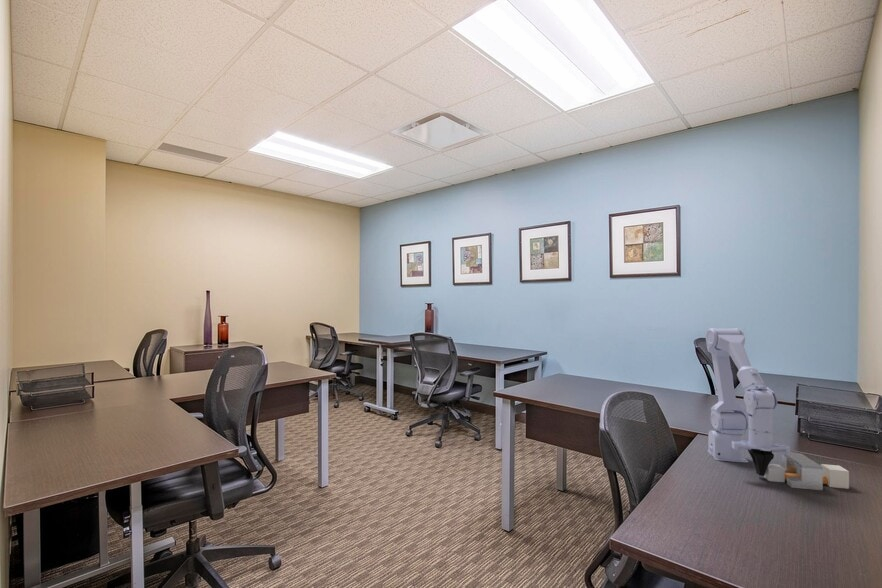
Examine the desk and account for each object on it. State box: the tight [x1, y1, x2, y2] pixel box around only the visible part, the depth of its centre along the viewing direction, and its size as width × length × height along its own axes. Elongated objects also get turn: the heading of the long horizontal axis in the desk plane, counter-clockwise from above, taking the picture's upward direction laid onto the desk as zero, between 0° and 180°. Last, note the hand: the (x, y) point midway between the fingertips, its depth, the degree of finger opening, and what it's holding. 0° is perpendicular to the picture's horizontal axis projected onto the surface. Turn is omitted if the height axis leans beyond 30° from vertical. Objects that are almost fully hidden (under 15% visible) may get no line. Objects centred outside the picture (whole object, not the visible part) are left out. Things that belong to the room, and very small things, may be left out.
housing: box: [781, 452, 824, 491], centre depth 123 cm, size 8×10×7 cm
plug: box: [762, 463, 850, 490], centre depth 122 cm, size 20×4×5 cm, turn 76°
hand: (760, 474), depth 125 cm, fingers closed
